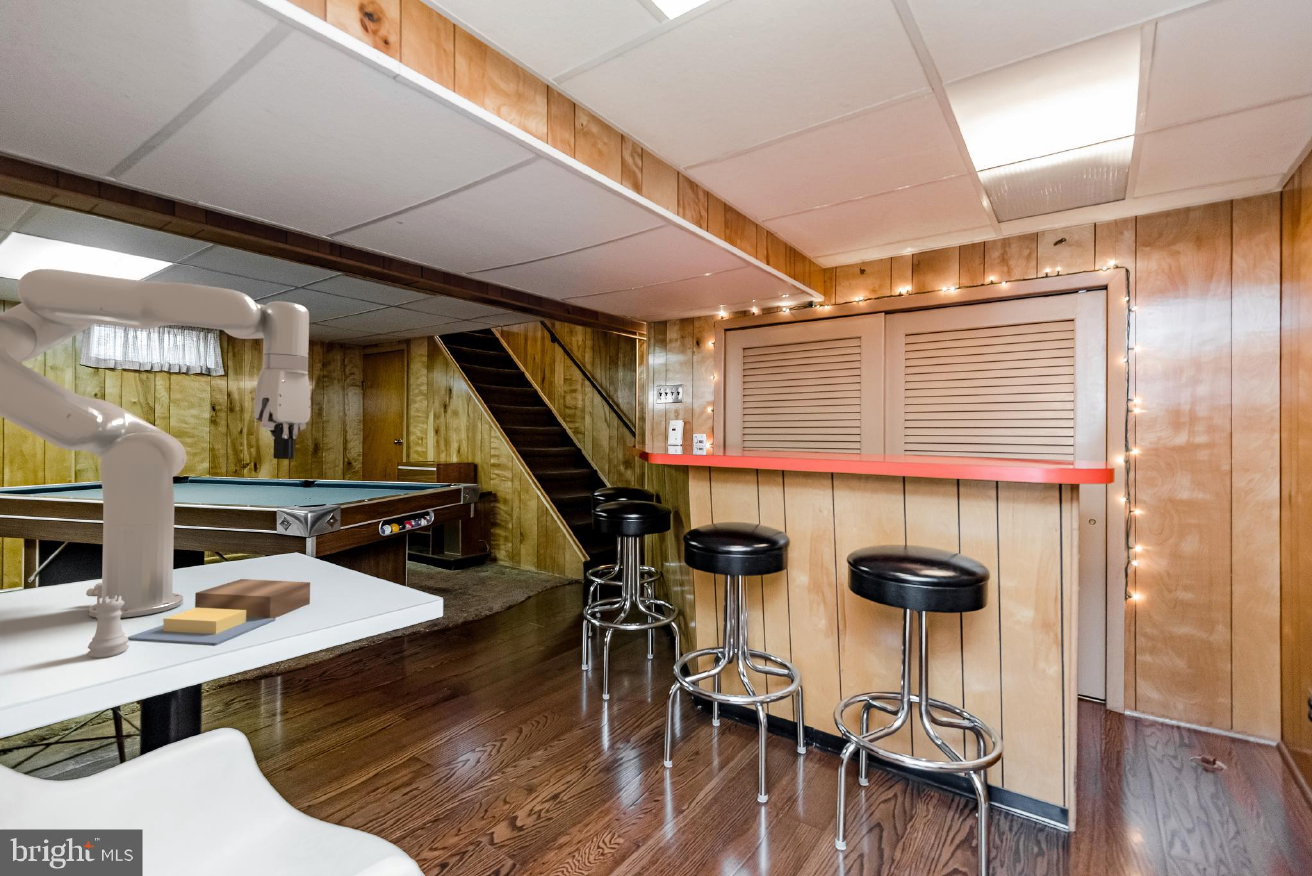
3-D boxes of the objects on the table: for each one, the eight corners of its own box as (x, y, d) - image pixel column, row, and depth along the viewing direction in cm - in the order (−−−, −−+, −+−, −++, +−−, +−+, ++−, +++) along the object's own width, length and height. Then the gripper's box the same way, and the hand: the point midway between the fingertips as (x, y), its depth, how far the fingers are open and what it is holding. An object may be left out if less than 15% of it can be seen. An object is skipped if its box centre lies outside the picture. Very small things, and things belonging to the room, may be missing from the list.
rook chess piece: (105, 647, 85) (106, 593, 85) (137, 647, 86) (138, 593, 86) (77, 659, 81) (78, 602, 81) (111, 659, 81) (112, 602, 81)
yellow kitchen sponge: (196, 607, 98) (196, 619, 98) (163, 618, 92) (163, 631, 92) (246, 610, 97) (246, 622, 97) (216, 621, 91) (216, 634, 91)
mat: (126, 639, 89) (126, 637, 89) (194, 615, 101) (194, 614, 101) (216, 644, 87) (216, 642, 87) (275, 620, 99) (275, 618, 99)
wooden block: (194, 615, 101) (195, 592, 101) (240, 599, 111) (241, 579, 111) (270, 619, 100) (270, 596, 100) (309, 603, 110) (310, 582, 110)
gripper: (295, 370, 122) (293, 457, 122) (237, 360, 107) (235, 459, 107) (328, 370, 121) (326, 458, 121) (275, 361, 106) (273, 460, 106)
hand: (283, 458), depth 114 cm, fingers closed
